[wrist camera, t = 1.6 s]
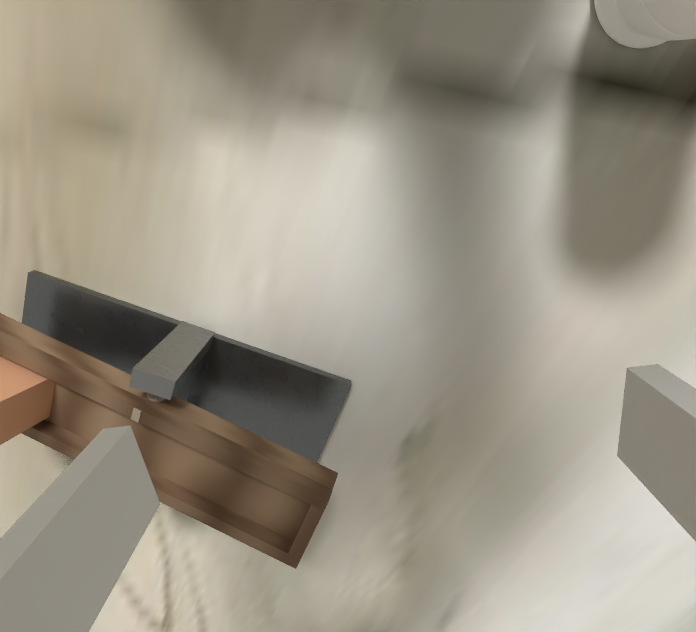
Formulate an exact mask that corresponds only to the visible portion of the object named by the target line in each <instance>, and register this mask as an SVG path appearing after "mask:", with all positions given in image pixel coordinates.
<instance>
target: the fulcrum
mask: <svg viewBox="0 0 696 632" xmlns="http://www.w3.org/2000/svg"><path fill="white" fill-rule="evenodd" d="M22 324H24V325H26V326H28V327H30V328H33V329H35V330H37V331H39V332H41V333H43V334H45V335H47V336H49V337H52V338H54V339H56V340H58V341H60V342H62V343H64V344H66V345H68V346H71V347H73V348H75V349H77V350H79V351H81V352H83V353H85V354H87V355H90V356H92V357H94V358H96V359H98V360H100V361H102V362H104V363H106V364H109V365H111V366H113V367H115V368H117V369H119V370H121V371H123V372H126V373H128V374H130V375H131V378H130V383H129V387H131V388H135V389H138V390H141V391H144V392H147V393H150V394H153V395H156V396H159V397H162V398H165V399H168V400H171V399H172V397H173V396H176V397H178V398H180V399H183V400H185V401H187V402H189V403H191V404H193V405H195V406H197V407H199V408H202V409H204V410H206V411H208V412H210V413H212V414H214V415H216V416H218V417H221V418H223V419H225V420H227V421H229V422H231V423H233V424H235V425H237V426H240V427H242V428H244V429H246V430H248V431H250V432H252V433H254V434H256V435H259V436H261V437H263V438H265V439H267V440H269V441H271V442H273V443H275V444H278V445H280V446H282V447H284V448H286V449H288V450H290V451H292V452H294V453H297V454H299V455H301V456H303V457H305V458H307V459H309V460H311V461H313V462H317V460H318V458H319V456H320V453H321V451H322V449H323V447H324V445H325V442H326V440H327V438H328V436H329V433H330V431H331V429H332V427H333V425H334V422H335V420H336V418H337V416H338V413H339V411H340V409H341V407H342V405H343V402H344V400H345V398H346V396H347V393H348V391H349V389H350V387H351V381H350V380H347V379H344V378H341V377H339V376H336V375H333V374H330V373H327V372H324V371H321V370H319V369H316V368H313V367H310V366H307V365H304V364H301V363H299V362H296V361H293V360H290V359H287V358H284V357H281V356H279V355H276V354H273V353H270V352H267V351H264V350H261V349H259V348H256V347H253V346H250V345H247V344H244V343H241V342H238V341H236V340H233V339H230V338H227V337H224V336H221V335H218V334H216V333H215V332H212V331H209V330H207V329H204V328H201V327H198V326H195V325H192V324H189V323H187V322H184V321H182V322H181V321H178V320H176V319H173V318H170V317H167V316H164V315H161V314H158V313H155V312H153V311H150V310H147V309H144V308H141V307H138V306H135V305H133V304H130V303H127V302H124V301H121V300H118V299H115V298H113V297H110V296H107V295H104V294H101V293H98V292H95V291H93V290H90V289H87V288H84V287H81V286H78V285H75V284H73V283H70V282H67V281H64V280H61V279H58V278H55V277H52V276H50V275H47V274H44V273H41V272H38V271H35V270H34V271H31V272H28V277H27V285H26V294H25V302H24V310H23V318H22Z"/></svg>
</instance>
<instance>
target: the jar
mask: <svg viewBox="0 0 696 632" xmlns="http://www.w3.org/2000/svg"><path fill="white" fill-rule="evenodd" d="M594 4H595V10H596V13H597V17H598V20H599V22H600V24H601V26H602V28H603V29H604V31H605V32H606V33H607V34H608V35H609V36H610V37H611V38H612V39H613V40H615V41H616V42H618V43H619V44H621V45H624V46H627V47H631V48H648V47H653V46H657V45H660V44H662V43H665V42H667V41H669V40H689V39H696V0H594Z"/></svg>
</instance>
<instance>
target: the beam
mask: <svg viewBox="0 0 696 632" xmlns="http://www.w3.org/2000/svg"><path fill="white" fill-rule="evenodd" d="M0 355H1V356H3V357H5V358H7V359H9V360H11V361H13V362H15V363H17V364H19V365H21V366H23V367H26V368H28V369H30V370H32V371H34V372H36V373H38V374H40V375H42V376H44V377H46V378H48V379H50V380H53V381H55V387H54V393H53V399H52V405H51V411H50V417H48V418H46V419H44V420H43V421H41V422H39V423H37V424H36V425H34V426H32V427H30V428H29V429H27V430H25V431H24V432H22V434H24V435H26V436H28V437H30V438H32V439H34V440H36V441H38V442H40V443H42V444H44V445H46V446H48V447H50V448H52V449H54V450H56V451H59V452H61V453H63V454H65V455H67V456H69V457H71V458H73V459H75V458H76V457H77V456H78V455H79V454H80V453H81V452H82V451H83V450H84V449H85V448H86V447H87V446H88V444H89V443H90V442H91V441H92V440H93V439H94V438H95V437H96V436H97V435H98V434H99V433H100V432H101V431H102V429H104V428H113V427H121V426H131V428H132V431H133V434H134V436H135V439H136V441H137V444H138V447H139V449H140V452H141V455H142V457H143V460H144V462H145V465H146V468H147V470H148V473H149V476H150V478H151V481H152V484H153V486H154V489H155V491H156V494H157V497H158V499H159V501H160V502H162V503H164V504H166V505H168V506H170V507H172V508H174V509H176V510H178V511H180V512H182V513H184V514H186V515H188V516H190V517H192V518H194V519H196V520H198V521H200V522H202V523H204V524H206V525H208V526H210V527H212V528H214V529H216V530H219V531H221V532H223V533H225V534H227V535H229V536H231V537H233V538H235V539H237V540H239V541H241V542H243V543H245V544H247V545H249V546H251V547H253V548H255V549H257V550H259V551H261V552H263V553H265V554H267V555H269V556H271V557H273V558H275V559H277V560H279V561H281V562H283V563H285V564H287V565H289V566H291V567H293V568H295V569H296V568H297V566H298V564H299V561H300V559H301V557H302V555H303V553H304V551H305V549H306V547H307V545H308V543H309V541H310V539H311V537H312V535H313V532H314V530H315V528H316V526H317V524H318V522H319V520H320V518H321V516H322V514H323V512H324V510H325V508H326V505H327V503H328V501H329V499H330V496H331V493H332V490H333V487H334V484H335V481H336V478H337V475H338V473H337V472H335V471H332V470H330V469H328V468H326V467H324V466H322V465H320V464H318V463H316V462H313V461H311V460H309V459H307V458H305V457H303V456H301V455H299V454H297V453H294V452H292V451H290V450H288V449H286V448H284V447H282V446H280V445H278V444H275V443H273V442H271V441H269V440H267V439H265V438H263V437H261V436H259V435H256V434H254V433H252V432H250V431H248V430H246V429H244V428H242V427H240V426H237V425H235V424H233V423H231V422H229V421H227V420H225V419H223V418H221V417H218V416H216V415H214V414H212V413H210V412H208V411H206V410H204V409H202V408H199V407H197V406H195V405H193V404H191V403H189V402H187V401H185V400H183V399H180V398H178V397H176V396H173V397H172V399H171V400H168V399H165V398H162V397H159V396H156V395H153V394H150V393H147V392H144V391H141V390H138V389H135V388H131V387H129V383H130V378H131V375H130V374H128V373H126V372H123V371H121V370H119V369H117V368H115V367H113V366H111V365H109V364H106V363H104V362H102V361H100V360H98V359H96V358H94V357H92V356H90V355H87V354H85V353H83V352H81V351H79V350H77V349H75V348H73V347H71V346H68V345H66V344H64V343H62V342H60V341H58V340H56V339H54V338H52V337H49V336H47V335H45V334H43V333H41V332H39V331H37V330H35V329H33V328H30V327H28V326H26V325H24V324H22V323H20V322H18V321H16V320H14V319H11V318H9V317H7V316H5V315H3V314H1V313H0Z"/></svg>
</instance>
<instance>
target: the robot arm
mask: <svg viewBox="0 0 696 632" xmlns="http://www.w3.org/2000/svg"><path fill="white" fill-rule="evenodd" d="M617 456H618V457H619V458H620V459H621V460H622V462H623V463H624V464H625V465H626V466H627V467H628V468H629V469H630V470H631V471H632V472H633V474H634V475H635V476H636V477H637V478H638V479H639V480H640V481H641V482H642V483H643V484H644V486H645V487H646V488H647V489H648V490H649V491H650V492H651V493H652V494H653V495H654V496H655V498H656V499H657V500H658V501H659V502H660V503H661V504H662V505H663V506H664V507H665V508H666V510H667V511H668V512H669V513H670V514H671V515H672V516H673V517H674V518H675V519H676V520H677V522H678V523H679V524H680V525H681V526H682V527H683V528H684V529H685V530H686V531H687V532H688V534H689V535H690V536H691V537H692V538H693V539H694V540H695V541H696V389H695V388H694V387H692V386H691V385H689V384H688V383H686V382H685V381H683V380H681V379H680V378H678V377H677V376H675V375H674V374H672V373H671V372H669V371H668V370H666V369H665V368H663V367H661V366H660V365H658V364H655V365H647V366H638V367H629V368H627V372H626V381H625V390H624V399H623V408H622V417H621V426H620V435H619V444H618V453H617ZM159 505H160V502H159V499H158V497H157V494H156V491H155V489H154V486H153V484H152V481H151V478H150V476H149V473H148V470H147V468H146V465H145V462H144V460H143V457H142V455H141V452H140V449H139V447H138V444H137V441H136V439H135V436H134V434H133V431H132V428H131V426H121V427H113V428H104V429H102V431H101V432H100V433H99V434H98V435H97V436H96V437H95V438H94V439H93V440H92V441H91V442H90V443H89V444H88V446H87V447H86V448H85V449H84V450H83V451H82V452H81V453H80V454H79V455H78V456H77V457H76V458H75V459H74V460H73V462H72V463H71V464H70V465H69V466H68V467H67V468H66V469H65V470H64V471H63V472H62V473H61V474H60V475H59V477H58V478H57V479H56V480H55V481H54V482H53V483H52V484H51V485H50V486H49V487H48V488H47V489H46V490H45V492H44V493H43V494H42V495H41V496H40V497H39V498H38V499H37V500H36V501H35V502H34V503H33V504H32V505H31V506H30V508H29V509H28V510H27V511H26V512H25V513H24V514H23V515H22V516H21V517H20V518H19V519H18V520H17V521H16V523H15V524H14V525H13V526H12V527H11V528H10V529H9V530H8V531H7V532H6V533H5V534H4V535H3V536H2V538H1V539H0V632H89V630H90V628H91V627H92V625H93V623H94V621H95V620H96V618H97V616H98V614H99V612H100V611H101V609H102V607H103V605H104V603H105V602H106V600H107V598H108V596H109V595H110V593H111V591H112V589H113V587H114V586H115V584H116V582H117V580H118V578H119V577H120V575H121V573H122V571H123V570H124V568H125V566H126V564H127V562H128V561H129V559H130V557H131V555H132V553H133V552H134V550H135V548H136V546H137V544H138V543H139V541H140V539H141V537H142V536H143V534H144V532H145V530H146V528H147V527H148V525H149V523H150V521H151V519H152V518H153V516H154V514H155V512H156V511H157V509H158V507H159Z"/></svg>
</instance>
